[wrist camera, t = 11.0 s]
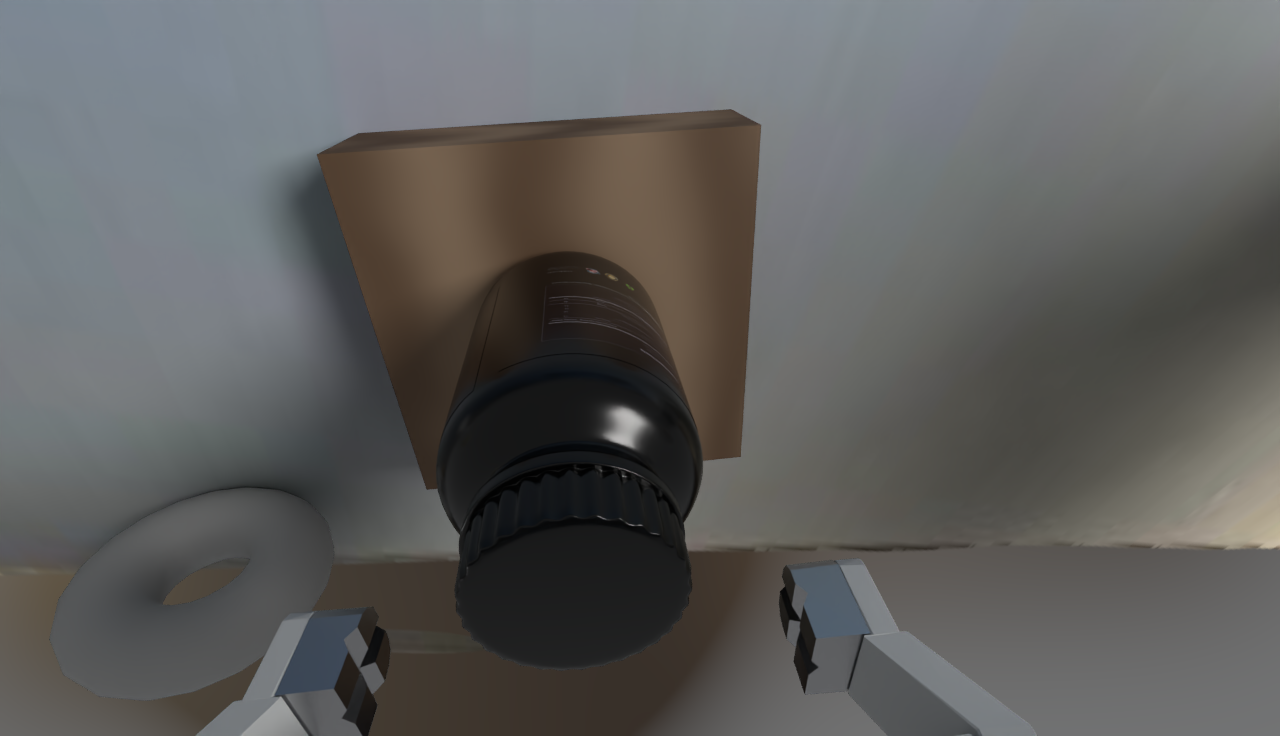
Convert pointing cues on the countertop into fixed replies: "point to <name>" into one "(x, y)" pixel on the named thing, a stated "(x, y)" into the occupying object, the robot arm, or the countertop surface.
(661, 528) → the supplement bottle
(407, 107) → the countertop surface
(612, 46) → the countertop surface
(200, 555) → the donut
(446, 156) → the walnut base
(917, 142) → the countertop surface
